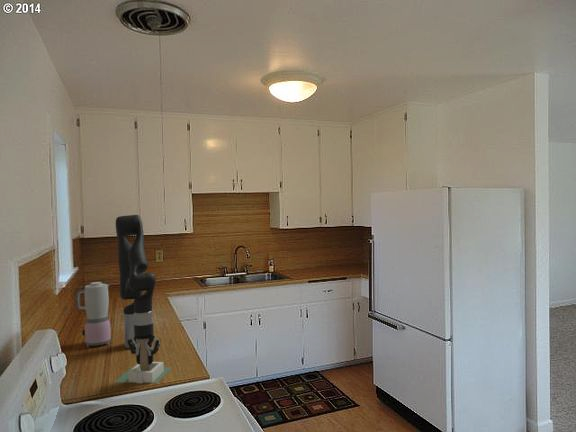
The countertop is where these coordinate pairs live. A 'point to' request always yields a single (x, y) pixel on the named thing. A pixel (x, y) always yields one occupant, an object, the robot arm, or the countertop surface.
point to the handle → (143, 354)
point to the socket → (146, 373)
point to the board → (125, 379)
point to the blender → (96, 314)
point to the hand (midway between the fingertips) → (145, 363)
